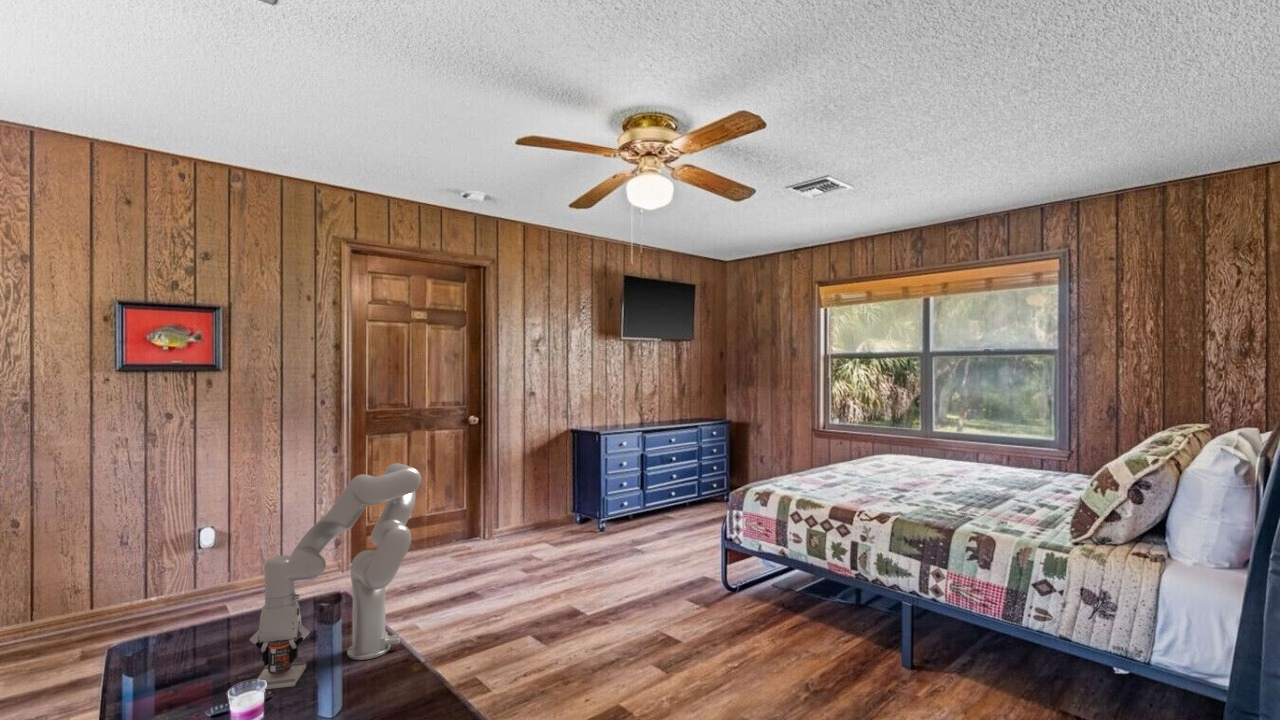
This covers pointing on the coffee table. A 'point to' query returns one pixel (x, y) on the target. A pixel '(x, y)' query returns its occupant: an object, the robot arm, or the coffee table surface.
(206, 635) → the coffee table surface
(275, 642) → the supplement bottle
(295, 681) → the mat
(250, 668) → the coffee table surface
